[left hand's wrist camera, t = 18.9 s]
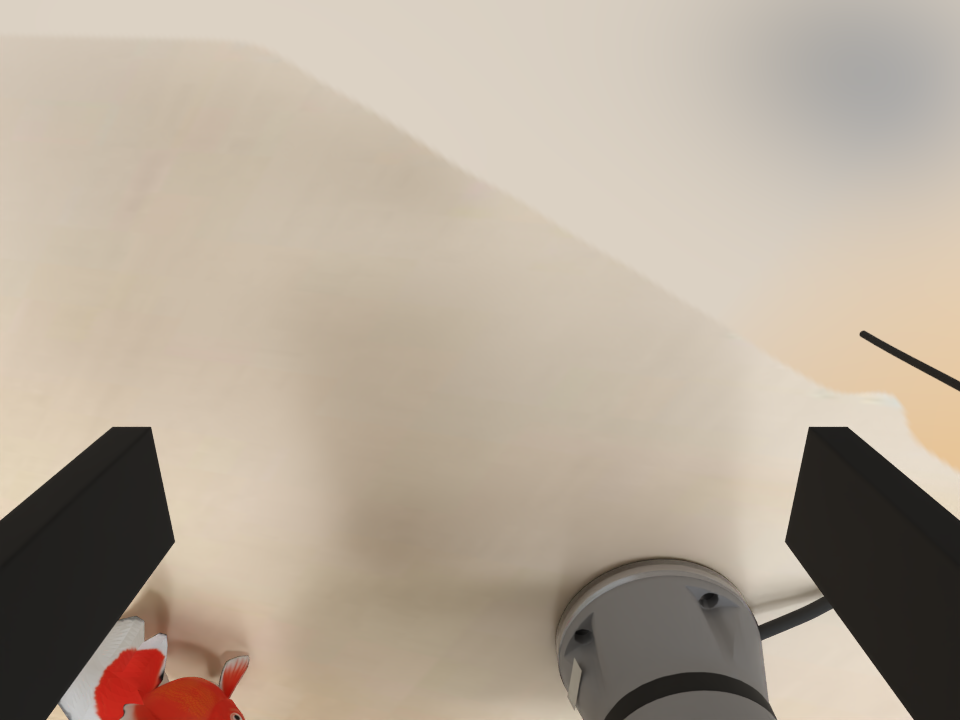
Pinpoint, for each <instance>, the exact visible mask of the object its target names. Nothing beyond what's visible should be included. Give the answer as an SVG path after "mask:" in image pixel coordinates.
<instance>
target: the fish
mask: <svg viewBox="0 0 960 720" xmlns="http://www.w3.org/2000/svg"><path fill="white" fill-rule="evenodd" d="M166 658H167V635H166V634H162V633H159V634H157V635H155V636H153V637H151V638H149V639H148V640H146V641H144V620H142V619H141V618H139V617H137V616H134V617H129V618H125V619H120V620H118V621H117V623H116V624H115V625H114V627H113V628H112V629H111V631H110V632H109V634H108V635H107V636H106V638H105V639H104V640H103V642H102V643H101V645H100V646H99V647H98V649H97V650H96V652H95V653H94V654H93V656H92V657H91V658H90V660H89V661H88V663H87V664H86V665H85V667H84V668H83V669H82V671H81V672H80V674H79V675H78V676H77V678H76V679H75V681H74V682H73V683H72V685H71V686H70V687H69V689H68V690H67V692H66V693H65V694H64V696H63V697H62V698H61V700H60V701H59V703H58V705H59V706H60V707H61V709H62V710H63V712H64V713H65V715H66V716H67V718H68V719H69V720H245V718H244V716H243V714H242V713H241V712H240V710H239V709H238V708H237V707H236V705H235V704H234V702H233V701H232V700H231V699H229V698H230V696H231V695H232V693H233V691H234V689H235V687H236V686H237V684H238V683H239V681H240V679H241V678H242V676H243V674H244V673H245V671H246V669H247V667H248V663H249V656H248V655H247V656H239V657H236V658H233V659H230V660H228V661H227V662H226V663H225V665H224V668H223V670H222V673H221V677H220V682H219V685H218V684H216V683H213V682H210V681H208V680H205V679H203V678H198V677H184V678H180V679H177V680H174V681H171V682H169V680H168V677H167V675H166V673H165V664H166Z"/></svg>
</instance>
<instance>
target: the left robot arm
mask: <svg viewBox="0 0 960 720" xmlns="http://www.w3.org/2000/svg"><path fill="white" fill-rule="evenodd" d="M859 335H860V337H862V338H864V339H865V340H867V341H869V342H870V343H872V344H874V345H875V346H877V347H879V348H881V349H882V350H884V351H886V352H888V353H889V354H891V355H893V356H895V357H897V358H899V359H900V360H902V361H904V362H906V363H908V364H910V365H911V366H913V367H915V368H917V369H919V370H921V371H923V372H924V373H926V374H928V375H930V376H932V377H934V378H936V379H937V380H939V381H941V382H943V383H945V384H947V385H948V386H950V387H952V388H954V389H956V390H958V391H960V381H958V380H956V379H954V378H952V377H950V376H949V375H947V374H945V373H943V372H941V371H939V370H937V369H935V368H933V367H931V366H929V365H927V364H925V363H923V362H922V361H920V360H918V359H916V358H914V357H912V356H910V355H908V354H906V353H904V352H902V351H901V350H899V349H897V348H895V347H893V346H891V345H889V344H888V343H886V342H884V341H882V340H880V339H878V338H877V337H875V336H873V335H872V334H870V333H868V332H866V331H861V332H860V334H859ZM174 542H175V540H174V535H173V530H172V525H171V520H170V516H169V511H168V506H167V501H166V496H165V492H164V487H163V482H162V477H161V472H160V468H159V463H158V458H157V453H156V449H155V444H154V439H153V434H152V429H151V427H112V428H111V429H110V430H108V431H107V432H106V433H105V434H104V435H102V436H101V437H100V438H99V439H98V440H96V441H95V442H94V443H93V444H92V445H90V446H89V447H88V448H87V449H86V450H84V451H83V452H82V453H81V454H80V455H78V456H77V457H76V458H75V459H74V460H72V461H71V462H70V463H69V464H68V465H66V466H65V467H64V468H63V469H62V470H60V471H59V472H58V473H57V474H56V475H54V476H53V477H52V478H51V479H50V480H48V481H47V482H46V483H45V484H44V485H42V486H41V487H40V488H39V489H38V490H36V491H35V492H34V493H33V494H32V495H30V496H29V497H28V498H27V499H26V500H24V501H23V502H22V503H21V504H20V505H18V506H17V507H16V508H15V509H14V510H12V511H11V512H10V513H9V514H8V515H6V516H5V517H4V518H3V519H2V520H0V720H46V719H47V718H48V716H49V715H50V714H51V712H52V711H53V710H54V708H55V707H56V705H57V704H58V703H59V701H60V700H61V698H62V697H63V696H64V694H65V693H66V692H67V690H68V689H69V687H70V686H71V685H72V683H73V682H74V681H75V679H76V678H77V676H78V675H79V674H80V672H81V671H82V669H83V668H84V667H85V665H86V664H87V663H88V661H89V660H90V658H91V657H92V656H93V654H94V653H95V652H96V650H97V649H98V647H99V646H100V645H101V643H102V642H103V640H104V639H105V638H106V636H107V635H108V634H109V632H110V631H111V629H112V628H113V627H114V625H115V624H116V623H117V621H118V620H119V618H120V617H121V616H122V614H123V613H124V611H125V610H126V609H127V607H128V606H129V605H130V603H131V602H132V600H133V599H134V598H135V596H136V595H137V594H138V592H139V591H140V589H141V588H142V587H143V585H144V584H145V582H146V581H147V580H148V578H149V577H150V576H151V574H152V573H153V571H154V570H155V569H156V567H157V566H158V565H159V563H160V562H161V560H162V559H163V558H164V556H165V555H166V553H167V552H168V551H169V549H170V548H171V547H172V545H173V544H174ZM785 542H786V544H787V545H788V547H789V548H790V549H791V551H792V552H793V553H794V555H795V556H796V558H797V559H798V560H799V562H800V563H801V565H802V566H803V567H804V569H805V570H806V571H807V573H808V574H809V576H810V577H811V578H812V580H813V581H814V582H815V584H816V585H817V587H818V588H819V589H820V591H821V592H822V594H823V595H824V597H822V598H820V599H818V600H816V601H814V602H813V603H811V604H809V605H807V606H805V607H802V608H800V609H798V610H796V611H793V612H791V613H788V614H786V615H784V616H781V617H779V618H776V619H774V620H772V621H769V622H767V623H764V624H762V625H760V626H758V624H757V621H756V619H755V617H754V615H753V614H752V612H751V610H750V608H749V606H748V604H747V603H746V601H745V599H744V597H743V596H742V594H741V593H740V592H739V590H738V589H737V588H736V587H735V586H734V585H733V584H732V583H731V582H730V581H729V580H728V579H726V578H725V577H723V576H722V575H720V574H719V573H717V572H715V571H714V570H711V569H709V568H707V567H704V566H702V565H699V564H695V563H691V562H687V561H681V560H671V559H655V560H646V561H640V562H635V563H631V564H627V565H624V566H621V567H618V568H616V569H613V570H611V571H609V572H607V573H605V574H603V575H601V576H599V577H598V578H596V579H595V580H593V581H592V582H590V583H589V584H588V585H586V586H585V587H584V588H583V589H582V590H581V591H580V592H579V593H577V595H576V596H575V597H574V598H573V599H572V600H571V602H570V603H569V605H568V606H567V607H566V609H565V611H564V613H563V614H562V617H561V619H560V622H559V625H558V628H557V634H556V652H557V659H558V666H559V671H560V676H561V679H562V681H563V684H564V686H565V688H566V690H567V692H568V699H569V701H570V703H571V705H572V707H573V709H574V711H575V706H576V708H577V709H578V711H579V713H580V715H581V716H582V718H583V720H777V718H776V716H775V714H774V712H773V710H772V708H771V706H770V704H769V700H768V692H767V684H766V676H765V667H764V659H763V651H762V643H761V641H762V640H764V639H766V638H769V637H771V636H774V635H776V634H778V633H781V632H783V631H786V630H788V629H790V628H793V627H795V626H798V625H800V624H802V623H805V622H807V621H809V620H811V619H813V618H816V617H817V616H819V615H821V614H823V613H825V612H827V611H829V610H831V609H834V610H835V611H836V613H837V614H838V616H839V617H840V618H841V620H842V621H843V623H844V624H845V625H846V627H847V628H848V629H849V631H850V632H851V634H852V635H853V636H854V638H855V639H856V640H857V642H858V643H859V645H860V646H861V647H862V649H863V650H864V652H865V653H866V654H867V656H868V657H869V658H870V660H871V661H872V663H873V664H874V665H875V667H876V668H877V669H878V671H879V672H880V674H881V675H882V676H883V678H884V679H885V681H886V682H887V683H888V685H889V686H890V687H891V689H892V690H893V692H894V693H895V694H896V696H897V697H898V698H899V700H900V701H901V703H902V704H903V705H904V707H905V708H906V710H907V711H908V712H909V714H910V715H911V716H912V718H913V719H914V720H960V520H958V519H957V518H956V517H955V516H954V515H952V514H951V513H950V512H949V511H948V510H946V509H945V508H944V507H943V506H942V505H940V504H939V503H938V502H937V501H936V500H934V499H933V498H932V497H931V496H930V495H928V494H927V493H926V492H925V491H924V490H922V489H921V488H920V487H919V486H918V485H916V484H915V483H914V482H913V481H912V480H910V479H909V478H908V477H907V476H906V475H904V474H903V473H902V472H901V471H900V470H898V469H897V468H896V467H895V466H894V465H892V464H891V463H890V462H889V461H888V460H886V459H885V458H884V457H883V456H882V455H880V454H879V453H878V452H877V451H876V450H874V449H873V448H872V447H871V446H870V445H868V444H867V443H866V442H865V441H864V440H862V439H861V438H860V437H859V436H858V435H856V434H855V433H854V432H853V431H852V430H850V429H849V428H848V427H809V429H808V434H807V439H806V444H805V449H804V453H803V458H802V463H801V468H800V472H799V477H798V482H797V487H796V492H795V496H794V501H793V506H792V511H791V516H790V520H789V525H788V530H787V535H786V540H785Z"/></svg>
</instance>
